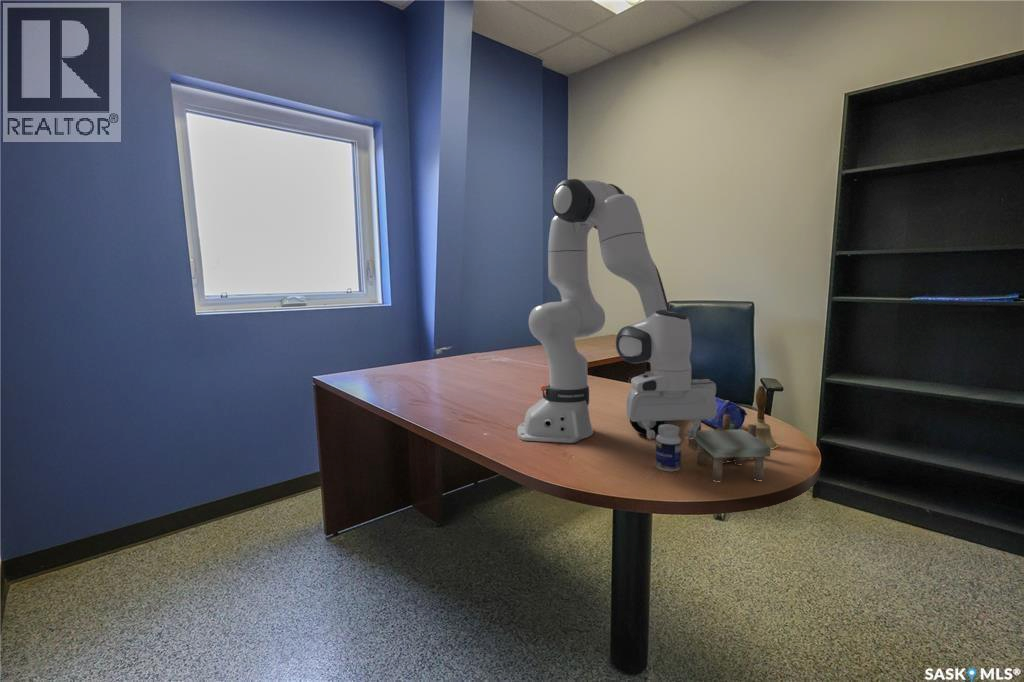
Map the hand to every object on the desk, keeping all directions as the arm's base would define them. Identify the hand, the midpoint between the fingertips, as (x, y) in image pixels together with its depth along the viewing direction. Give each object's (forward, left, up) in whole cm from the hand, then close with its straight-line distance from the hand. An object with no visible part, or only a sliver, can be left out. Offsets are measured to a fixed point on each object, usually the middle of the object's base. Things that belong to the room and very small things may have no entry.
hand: (671, 437), depth 106 cm
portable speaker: (+5, +33, -8) cm, 34 cm away
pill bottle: (0, +1, -8) cm, 8 cm away
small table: (+13, -2, -8) cm, 15 cm away
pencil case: (+23, +33, -8) cm, 41 cm away
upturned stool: (+17, +10, -8) cm, 21 cm away
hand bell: (+29, +15, -8) cm, 33 cm away
